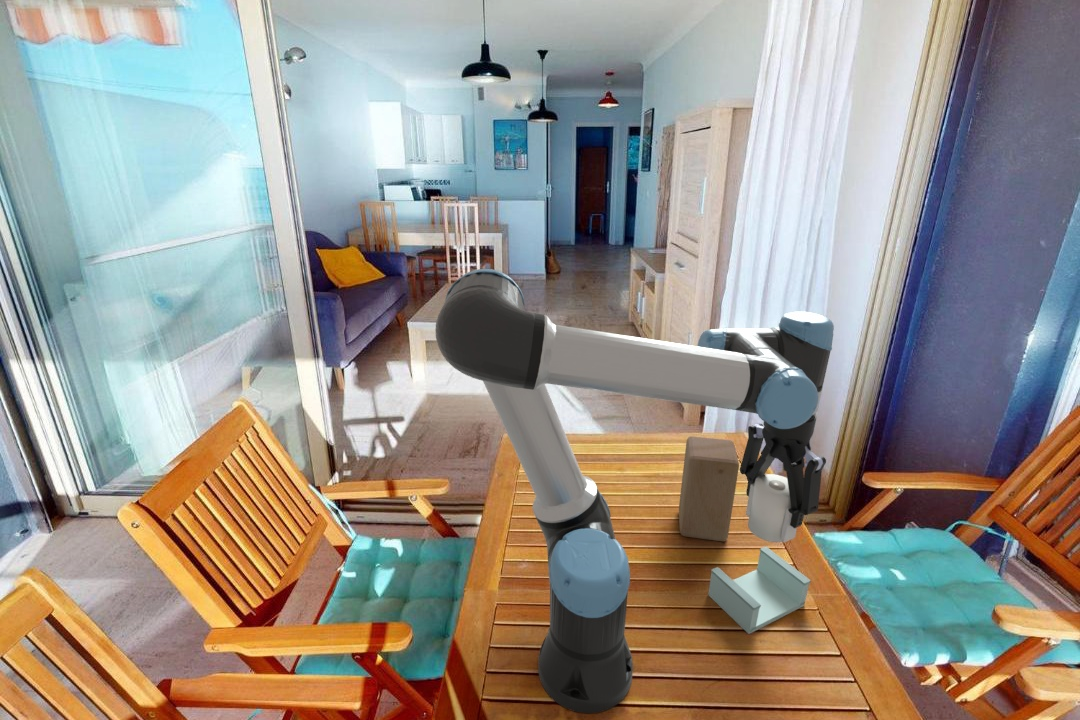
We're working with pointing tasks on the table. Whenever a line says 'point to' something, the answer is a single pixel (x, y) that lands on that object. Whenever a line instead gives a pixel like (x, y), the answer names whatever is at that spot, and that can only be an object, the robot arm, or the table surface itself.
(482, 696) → the table surface
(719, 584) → the cradle
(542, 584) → the table surface
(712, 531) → the wooden block
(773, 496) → the roll
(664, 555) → the table surface
